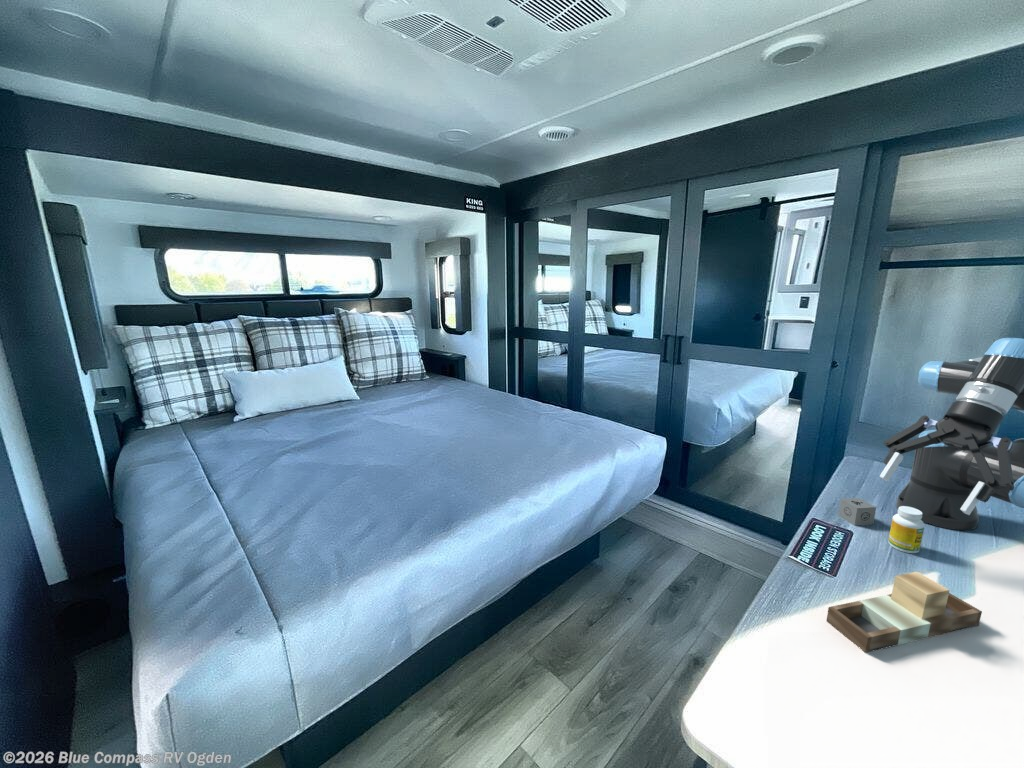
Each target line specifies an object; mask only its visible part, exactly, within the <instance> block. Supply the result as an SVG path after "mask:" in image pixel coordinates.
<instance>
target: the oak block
mask: <svg viewBox="0 0 1024 768" xmlns="http://www.w3.org/2000/svg"><path fill="white" fill-rule="evenodd" d="M949 593H950V589H948V588H947V587H946V586H944V585H942V584H940V583H938V582H937V581H935V580H933V579H931V578H929V577H928V576H926V575H924V574H923V573H920V572H918V571H912V572H908V573H902V574H898V575H897V574H896V575H894V581H893V586H892V591H891V594H892V595H891V600H893V601H894V602H896V603H897V604H899V605H901V606H902V607H904V608H905V609H907V610H908V611H910V612H911V613H913V614H914V615H916V616H917V617H919V618H920V619H926V618H930V617H935V616H939V615H943V614H944V613H945V608H946V604H947V600H948V595H949Z"/></svg>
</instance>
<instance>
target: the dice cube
mask: <svg viewBox="0 0 1024 768" xmlns="http://www.w3.org/2000/svg"><path fill="white" fill-rule="evenodd" d="M876 511H877V506H875V505H873V504H871V503H869V502H868V501H867V500H866V501H865V500H864V499H863V498H860V497H849V498H840V503H839V510H838V516H839V517H840V518H842V519H843V520H845V521H847V522H848V523H850V524H851V525H852V526H856V527H857V526H873V525H874V522H875V517H876Z"/></svg>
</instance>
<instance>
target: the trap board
mask: <svg viewBox="0 0 1024 768" xmlns="http://www.w3.org/2000/svg"><path fill="white" fill-rule="evenodd" d="M891 595H892V593H889V594H885V595H879V596H876V597H870V598H866V599H861V600H857V601H853V602H847V603H841V604H837V605H833V606H828V607H827V616H826V622H827V623H828V624H830V625H831V627H833V628H834V629H835V630H837V631H838V632H839V633H840V634H842V635H843V636H844V637H846V638H847V639H848V640H849V641H851V642H852V643H853V644H854V645H855V644H856V645H855V646H857V647H858V648H859V647H860V648H861V649H862V650H861V649H860V648H859V649H860V650H861V651H862V652H864V653H865V652H866V653H870V652H873V650H874V651H878V650H882V649H881V648H883V649H886V647H887V648H890V647H889V646H891V647H895V646H899V645H903V644H908V643H911V642H916V641H919V640H923V639H928V638H932V637H933V638H934V637H937V636H941V635H944V634H949V633H953V632H957V631H958V632H959V631H963V630H966V629H970V628H971V629H972V628H975V627H979V625H980V621H981V618H982V614H983V611H982V610H980V609H979V608H977V607H975V606H973V605H972V604H970V603H968V602H966V601H964V600H963V599H961V598H959V597H958V596H955V595H954V594H952V593H951V592H949V595H948V600H947V604H946V608H945V613H944V614H943V615H939V616H935V617H930V618H926V619H920V618H919V617H917V616H916V615H914V614H913V613H911V612H910V611H908V610H907V609H905V608H904V607H902V606H901V605H899V604H897V603H896V602H894V601H893V600H891Z"/></svg>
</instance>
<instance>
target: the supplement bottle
mask: <svg viewBox="0 0 1024 768" xmlns="http://www.w3.org/2000/svg"><path fill="white" fill-rule="evenodd" d="M922 514H923V513H922V512H921V511H920V510H918V509H915V508H912V507H908V506H900V507H899V508H897V513H895V514H894V515H893V516H892V518H891V525H890V531H889V536H888V541H887V542H888V544H889V545H890V546H891V547H892V548H894V549H895V550H897V551H901V552H903V553H908V554H916V553H920V549H921V544H922V539H923V534H924V530H925V522H923V521H922V520H920V519H921V518H922Z"/></svg>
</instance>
